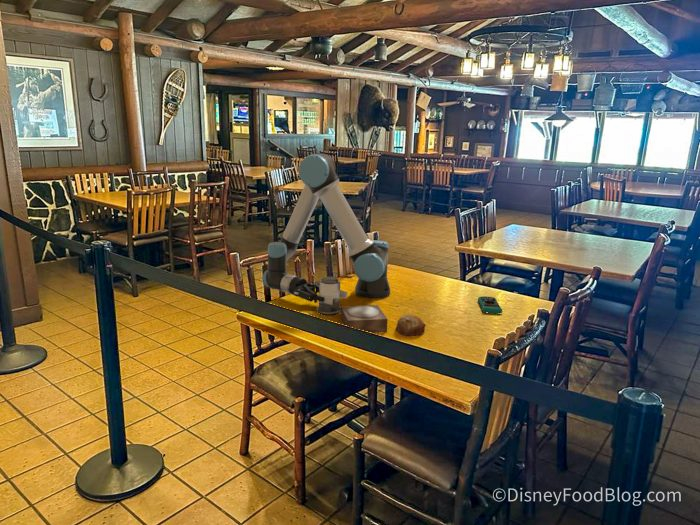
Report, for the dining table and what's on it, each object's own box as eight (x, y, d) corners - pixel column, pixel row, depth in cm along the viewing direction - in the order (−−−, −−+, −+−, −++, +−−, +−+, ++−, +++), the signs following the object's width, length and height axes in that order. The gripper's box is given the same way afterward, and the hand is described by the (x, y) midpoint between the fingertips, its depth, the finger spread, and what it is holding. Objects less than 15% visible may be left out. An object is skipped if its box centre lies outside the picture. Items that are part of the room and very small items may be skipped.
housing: (338, 306, 197) (339, 275, 194) (342, 315, 189) (344, 282, 185) (315, 307, 196) (316, 275, 192) (318, 316, 187) (319, 283, 183)
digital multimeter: (494, 302, 210) (495, 296, 209) (502, 315, 196) (502, 308, 195) (477, 301, 211) (477, 295, 210) (483, 314, 196) (483, 307, 196)
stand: (377, 317, 188) (377, 304, 187) (386, 332, 175) (387, 317, 173) (340, 319, 185) (340, 305, 184) (347, 334, 172) (348, 319, 171)
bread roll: (398, 335, 182) (389, 316, 180) (423, 323, 182) (416, 305, 179) (403, 346, 172) (394, 327, 170) (430, 335, 172) (422, 315, 170)
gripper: (311, 288, 210) (355, 300, 197) (276, 300, 194) (321, 315, 181) (311, 271, 208) (356, 282, 195) (276, 282, 192) (321, 295, 179)
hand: (339, 298), depth 188 cm, fingers closed on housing, 8 cm apart
